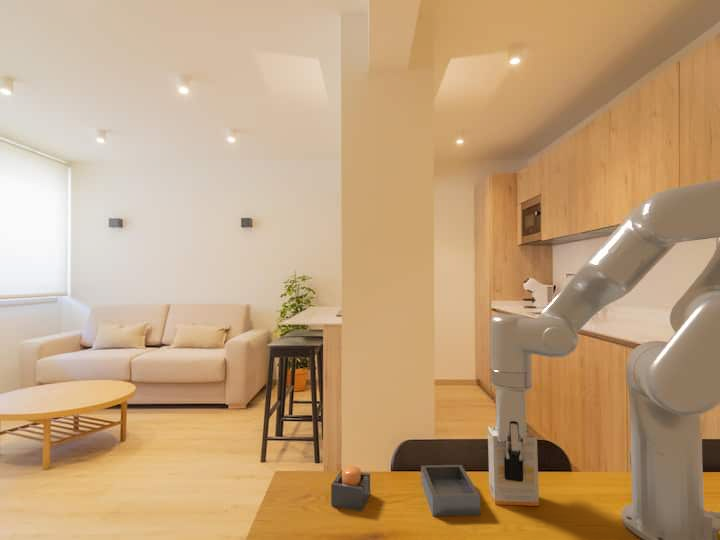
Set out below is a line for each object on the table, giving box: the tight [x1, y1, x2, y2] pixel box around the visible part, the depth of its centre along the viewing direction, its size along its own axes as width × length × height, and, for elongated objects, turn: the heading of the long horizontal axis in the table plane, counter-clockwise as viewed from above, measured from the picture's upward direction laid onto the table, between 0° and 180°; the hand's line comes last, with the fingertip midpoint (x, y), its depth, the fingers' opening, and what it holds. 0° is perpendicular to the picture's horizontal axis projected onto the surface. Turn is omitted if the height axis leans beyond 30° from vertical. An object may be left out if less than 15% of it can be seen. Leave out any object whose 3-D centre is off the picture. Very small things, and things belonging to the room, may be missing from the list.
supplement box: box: [487, 426, 540, 507], centre depth 75 cm, size 8×5×13 cm, turn 84°
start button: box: [341, 465, 361, 486], centre depth 75 cm, size 4×4×4 cm
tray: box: [420, 464, 481, 517], centre depth 75 cm, size 9×12×4 cm
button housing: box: [330, 469, 371, 512], centre depth 75 cm, size 6×6×4 cm
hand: (512, 471), depth 75 cm, fingers closed on supplement box, 5 cm apart
